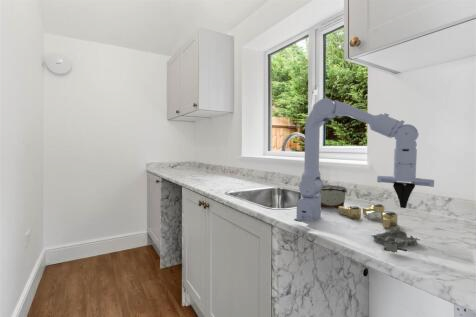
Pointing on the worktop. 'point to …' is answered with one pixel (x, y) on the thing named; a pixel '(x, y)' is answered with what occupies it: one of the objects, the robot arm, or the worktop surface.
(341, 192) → the food container
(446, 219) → the worktop surface
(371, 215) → the tribrach plate
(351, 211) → the knob left
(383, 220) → the knob right
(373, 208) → the knob back
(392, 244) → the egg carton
